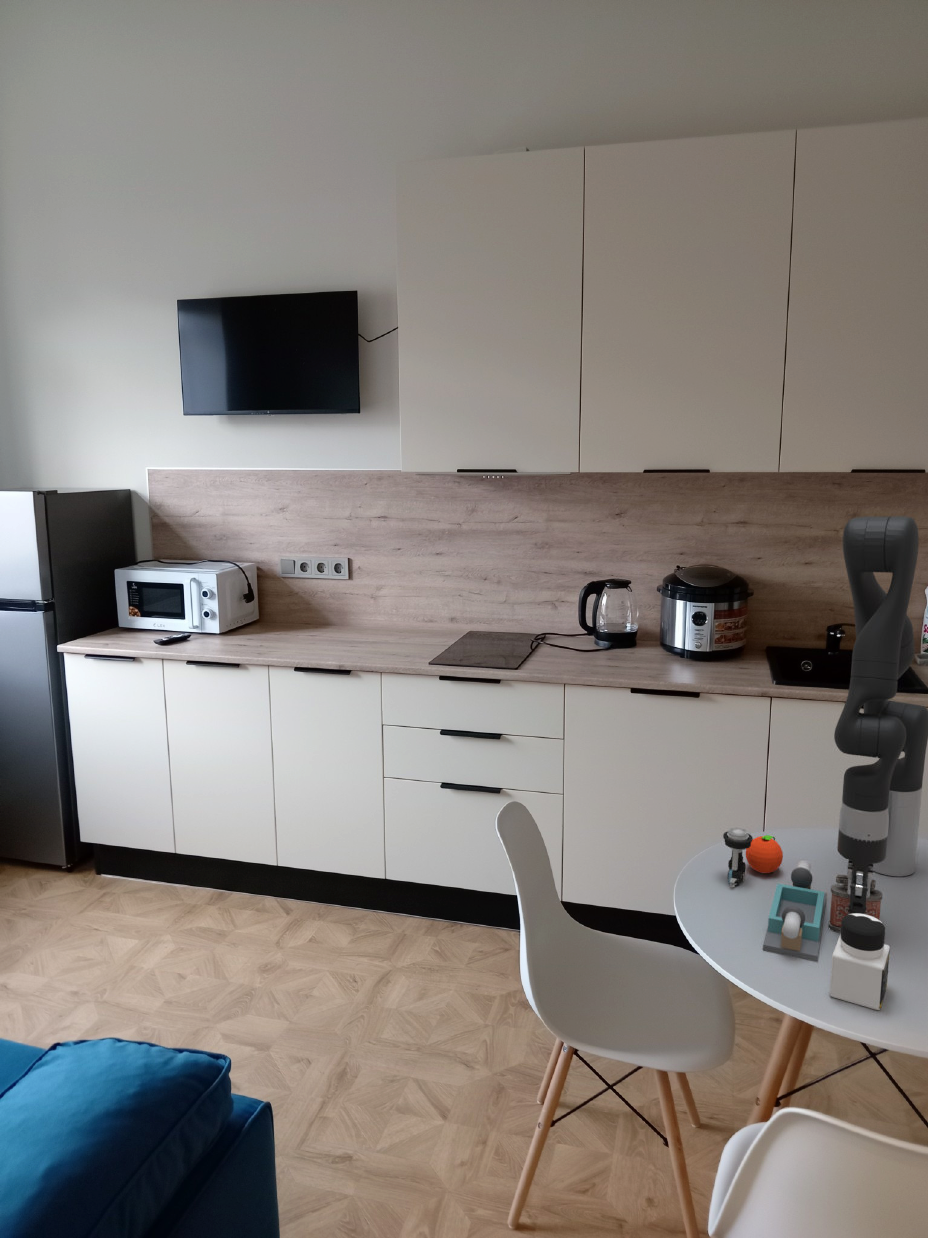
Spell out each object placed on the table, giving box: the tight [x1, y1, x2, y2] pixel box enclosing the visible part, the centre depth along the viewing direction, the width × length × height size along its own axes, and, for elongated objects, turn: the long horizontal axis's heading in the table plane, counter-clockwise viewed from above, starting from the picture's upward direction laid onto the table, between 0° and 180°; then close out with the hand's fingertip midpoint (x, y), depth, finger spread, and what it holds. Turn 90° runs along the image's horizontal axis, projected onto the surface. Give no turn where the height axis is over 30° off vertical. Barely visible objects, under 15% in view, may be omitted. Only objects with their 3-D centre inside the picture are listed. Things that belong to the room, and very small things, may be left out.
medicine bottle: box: [829, 913, 891, 1011], centre depth 136 cm, size 7×7×12 cm
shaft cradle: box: [762, 859, 828, 962], centre depth 156 cm, size 24×8×7 cm, turn 155°
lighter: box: [827, 874, 883, 934], centre depth 153 cm, size 8×3×10 cm, turn 71°
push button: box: [722, 827, 754, 888], centre depth 170 cm, size 7×5×10 cm
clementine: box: [745, 834, 784, 874], centre depth 175 cm, size 8×7×7 cm
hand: (856, 922), depth 154 cm, fingers closed on lighter, 3 cm apart
